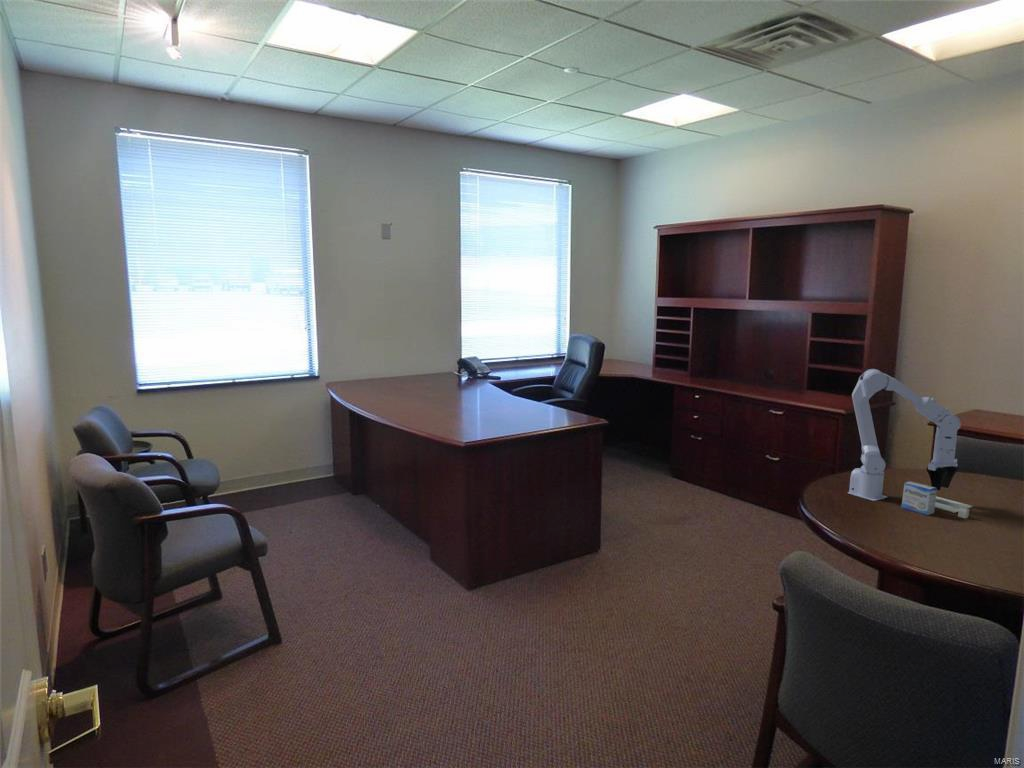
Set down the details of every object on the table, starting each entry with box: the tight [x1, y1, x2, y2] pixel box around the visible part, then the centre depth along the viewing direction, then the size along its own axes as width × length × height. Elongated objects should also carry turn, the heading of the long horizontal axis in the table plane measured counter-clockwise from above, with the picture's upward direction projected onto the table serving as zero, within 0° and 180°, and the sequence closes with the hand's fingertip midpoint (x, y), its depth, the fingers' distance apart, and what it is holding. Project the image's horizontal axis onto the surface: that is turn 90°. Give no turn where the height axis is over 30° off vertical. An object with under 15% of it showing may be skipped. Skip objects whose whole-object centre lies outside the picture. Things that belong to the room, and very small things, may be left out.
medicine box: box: [901, 481, 938, 516], centre depth 194 cm, size 8×4×9 cm, turn 30°
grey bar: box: [935, 498, 970, 510], centre depth 195 cm, size 18×1×1 cm, turn 30°
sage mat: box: [935, 495, 974, 514], centre depth 201 cm, size 14×12×1 cm
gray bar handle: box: [957, 509, 970, 519], centre depth 196 cm, size 18×2×2 cm, turn 30°
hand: (940, 488), depth 200 cm, fingers open, 5 cm apart
